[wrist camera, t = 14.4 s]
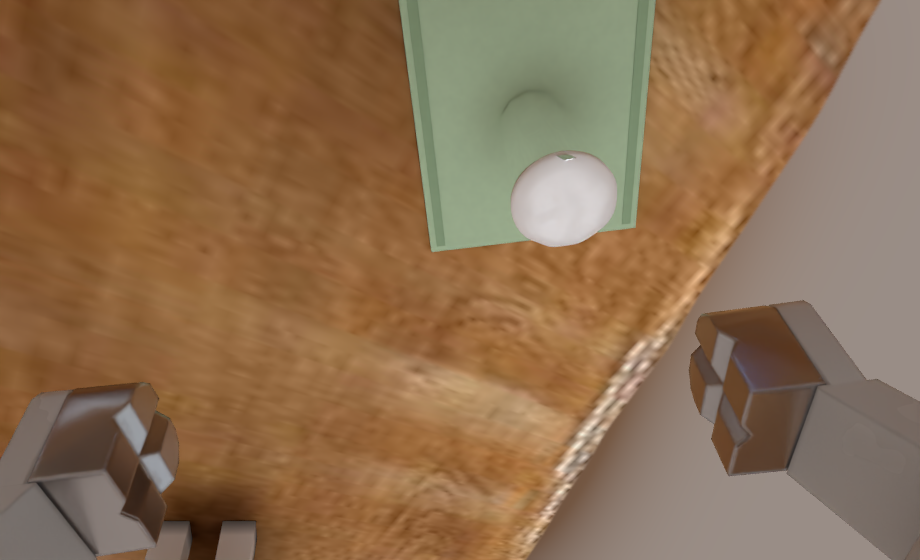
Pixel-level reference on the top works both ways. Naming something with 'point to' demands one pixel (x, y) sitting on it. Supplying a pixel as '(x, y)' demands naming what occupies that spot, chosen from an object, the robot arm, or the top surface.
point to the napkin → (510, 75)
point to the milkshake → (553, 174)
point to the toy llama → (232, 546)
